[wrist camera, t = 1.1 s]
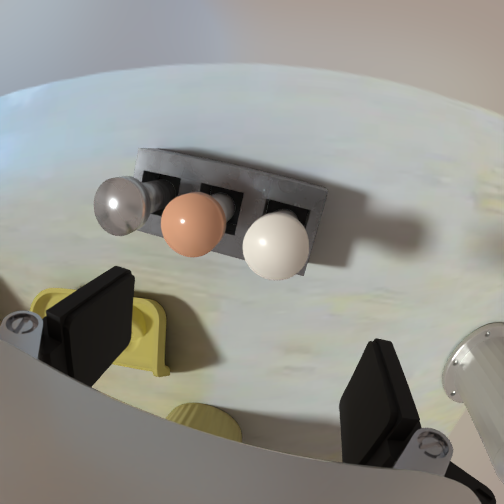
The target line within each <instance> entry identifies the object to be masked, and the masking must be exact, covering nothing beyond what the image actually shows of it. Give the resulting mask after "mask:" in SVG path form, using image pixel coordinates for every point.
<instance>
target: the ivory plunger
mask: <svg viewBox="0 0 504 504" xmlns="http://www.w3.org/2000/svg"><path fill="white" fill-rule="evenodd" d="M308 254H309V240H308V235H307V232H306V230H305V228H304V226H303V225H302V224H301V223H300V222H299V220H298V217H297V216H296V214H295V213H294V212H293V211H291V210H289V209H278V210H276V211H274V212H273V213H268V214H265V215H263V216H261V217H260V218H258V219H257V220H256V221H255V222H254V223H253V224H252V225H251V227H250V228H249V229H248V231H247V232H246V235H245V237H244V240H243V255H244V258H245V261H246V263H247V264H248V266H249V267H250V268H251V269H252V271H254V272H255V273H256V274H257V275H259V276H261V277H263V278H266V279H269V280H284V279H288V278H290V277H292V276H294V275H296V274H297V273H298V272H299V271H300V270H301V269H302V268H303V266H304V265H305V263H306V261H307V258H308Z"/></svg>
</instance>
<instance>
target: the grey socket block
mask: <svg viewBox="0 0 504 504" xmlns="http://www.w3.org/2000/svg"><path fill="white" fill-rule="evenodd" d="M160 174H164V175H169V176H173V177H178V178H181V182H180V187H179V193H178V196H181V195H184V194H187V193H191V192H202V193H205V194H208V195H210V194H211V189H212V185H213V186H218V187H222V188H226V189H230V190H234V191H239V192H243V193H244V196H243V200H242V205H241V209H240V213H239V218H238V222H237V225H234V224H231V223H227V222H226V230H225V233H224V236H223V238H222V239H221V241H220V242H219V243H218V244H217V245H216V246H215V247H214V248H213V249H212V250H211V251H213V252H217V253H221V254H224V255H228V256H232V257H235V258H239V259H242V260H245V258H244V255H243V240H244V237H245V235H246V232H247V231H248V229H249V228H250V227H251V225H252V224H253V223H254V222H255V221H256V220H257V219H258V218H260V217H261V216H263V215H265V214H266V211H267V207H268V203H269V199H270V200H274V201H278V202H282V203H286V204H290V205H293V206H297V207H301V208H304V209H308V213H307V217H306V221H305V224H304V228H305V230H306V232H307V235H308V240H309V254H308V258H307V261H306V263H305V265H304V266H303V268H302V269H301V270H300V271H299V272H298V273H297V274H298V275H301V276H304V273H305V270H306V266H307V263H308V260H309V256H310V253H311V250H312V246H313V243H314V239H315V236H316V232H317V229H318V225H319V222H320V218H321V215H322V211H323V207H324V204H325V200H326V196H327V193H328V191H327V189H326V188H325V187H322V186H318V185H315V184H311V183H308V182H304V181H300V180H296V179H292V178H289V177H285V176H281V175H277V174H273V173H269V172H265V171H261V170H257V169H252V168H248V167H244V166H239V165H235V164H231V163H226V162H222V161H217V160H212V159H207V158H203V157H198V156H193V155H188V154H183V153H177V152H172V151H167V150H161V149H153V148H138V153H137V159H136V165H135V171H134V178H136V179H138V180H139V181H141V182H142V183H144V182H149V181H154V180H159V176H160ZM164 209H165V208H163V209H161V210H158V211H155V212H153V213H150V215H149V218H148V220H147V222H146V223H145V224H144V225H143V226H142V227H141V228H139V229H138V231H142V232H145V233H149V234H152V235H156V236H159V237H163V238H164V236H163V234H162V230H161V218H162V214H163V211H164Z"/></svg>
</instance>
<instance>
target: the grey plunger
mask: <svg viewBox="0 0 504 504" xmlns="http://www.w3.org/2000/svg"><path fill="white" fill-rule="evenodd" d="M175 197H176V191H175V188H174V186H173V184H172V183H171V182H170V181H168V180H165V179H160V180H154V181H149V182H144V183H142V182H141V181H139V180H138V179H136V178H134V177H130V176H122V177H116V178H111V179H108V180H106V181H105V182H103V183H102V184H101V185H100V187H99V188H98V190H97V192H96V195H95V198H94V212H95V216H96V218H97V220H98V222H99V224H100V225H101V227H102V228H103V229H104V230H105V231H107V232H108V233H110V234H112V235H115V236H124V235H127V234H129V233H131V232H134V231H136V230H138V229H139V228H141V227H142V226H143V225H144V224H145V223H146V222H147V220H148V218H149V215H150V213H153V212H155V211H158V210H161V209H163V208H165V207H166V206H167V205H168V203H169V202H170V201H172V200H173V199H174V198H175Z"/></svg>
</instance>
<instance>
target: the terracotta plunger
mask: <svg viewBox="0 0 504 504" xmlns="http://www.w3.org/2000/svg"><path fill="white" fill-rule="evenodd" d="M234 213H235V203H234V200H233V199H232V198H231V197H230V196H229V195H228V194H226V193H215V194H213V195H208V194H205V193H202V192H191V193H187V194H184V195H181V196H178V197H176V198H174V199H173V200H172V201H170V202H169V203H168V205H167V206H166V207H165V209H164V211H163V214H162V218H161V230H162V234H163V236H164V239H165V241H166V242H167V244H168V245H169V246H170V247H171V248H172V249H173V250H174V251H176V252H177V253H179V254H181V255H183V256H187V257H199V256H202V255H205V254H207V253H208V252H210V251H211V250H212V249H213V248H214V247H215V246H216V245H217V244H218V243H219V242H220V241H221V239H222V238H223V236H224V233H225V230H226V222H227V221H229V220H230V219H231V218H232V217H233V215H234Z"/></svg>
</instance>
